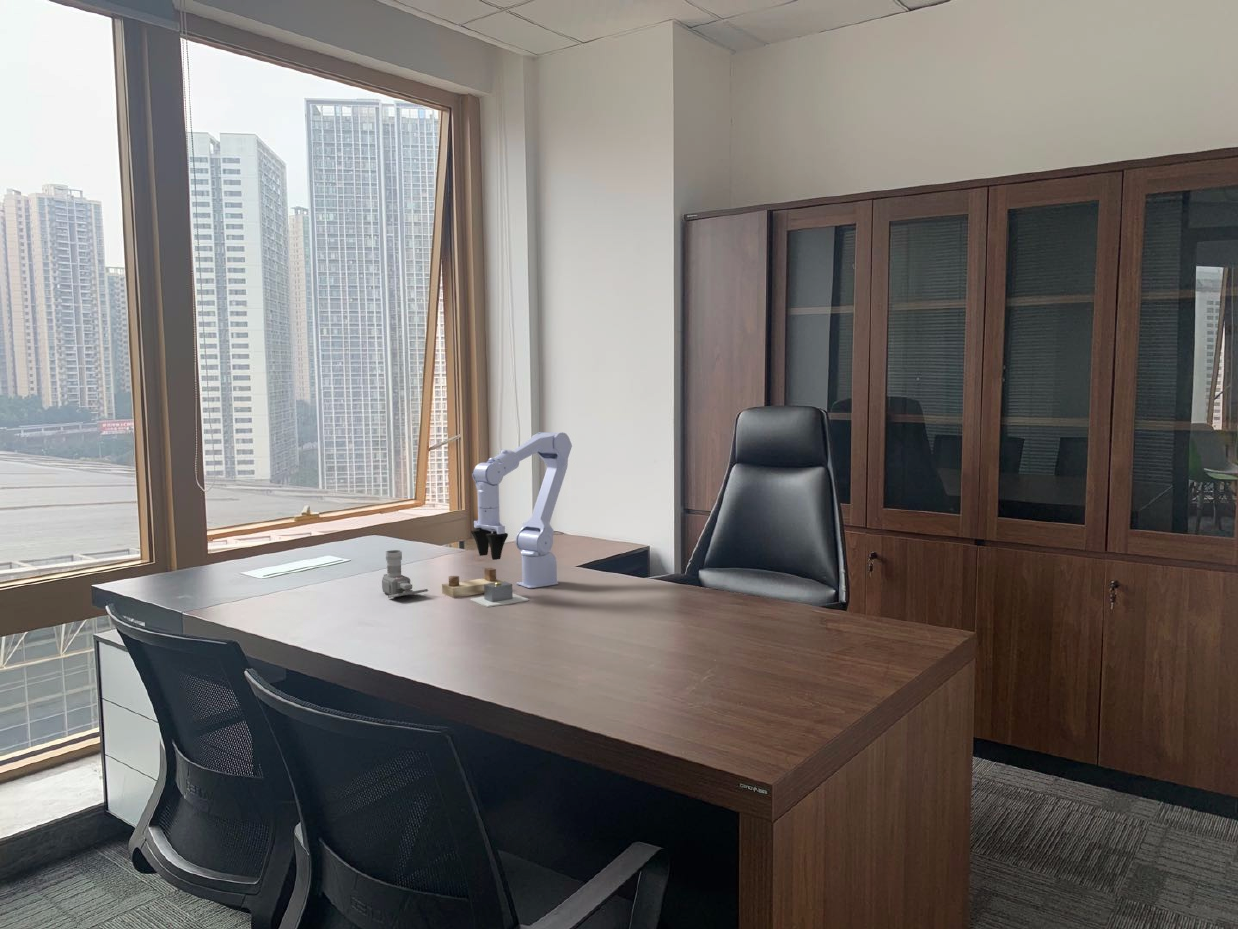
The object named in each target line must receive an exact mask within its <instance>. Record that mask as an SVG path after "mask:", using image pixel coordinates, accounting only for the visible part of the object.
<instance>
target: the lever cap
mask: <svg viewBox="0 0 1238 929" xmlns="http://www.w3.org/2000/svg"><path fill="white" fill-rule="evenodd" d="M512 593H513V584H512V583H510V582H508V581H503V582H495V583H489V584H484V593H483V594H484V596H483V597H484V599H485V600H488V601H490V602H497V601H503V600H510V599H513V594H514V593H513V594H512Z"/></svg>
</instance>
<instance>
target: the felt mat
mask: <svg viewBox="0 0 1238 929" xmlns="http://www.w3.org/2000/svg"><path fill="white" fill-rule="evenodd" d="M512 594H513V599H510V600H503V601H497V602H490V601H488V600H485V599H484V596H480V597H479V596H478V597H473V598H470V601H471V602H474V603H476V604H478V605H481V606H483V607H486V608H490V607H497V606H503V605H509V604H516V603H522V602H528V601H529V598H527V597H525V596H521V595H519V594H516V593H514V592H512Z"/></svg>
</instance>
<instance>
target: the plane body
mask: <svg viewBox="0 0 1238 929" xmlns="http://www.w3.org/2000/svg"><path fill="white" fill-rule="evenodd" d="M495 582H503V581H502V580H500V579H497V569H496V568H494V567H485V568H484V577H483V578H476V579H470V580H463V581H462V580H461V581H460V576H459V575H450V576H448V583H443V584H441V592H442V593H441V594H443V595H445V596H447V597H450V598H452V599H453V598H462V597H469V596H474V595H475V596H476V595H481V594H484V584H489V583H495Z"/></svg>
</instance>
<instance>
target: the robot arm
mask: <svg viewBox="0 0 1238 929" xmlns="http://www.w3.org/2000/svg"><path fill="white" fill-rule="evenodd" d="M572 447H573V444H572V442H571V439H570V437H569V435H568V434H567V433H565V432H544V431H539V432H537V433H536V434H533V435H532V436H531V438H529V439H527V440H526V441H525V442H524V443H522V444H521V445H519V446H518V447H516V448H515V449H514V450H510V449H502V450H500V453H498V454H497V455H495V456H494V457H489V458H488V459H487V461H486V462H480V463H478V464H477V465H475V467H474V469H473V473H471V476H472V480H473V482H475V483H474V484H475V488H476V491H477V492H476V494H477V520H473V528H474V529H472V530H470V533H471V536H472V537H473V539H474V541H475V543H476V547H477V551H478V555H479V556H488V553H489V548H490V555H491V556H490V557H491V559H492V561H495V560H496V561H497V560H501V558H502V552H503V549H504V545H505V542H506V541H507V538H508V536H509V533H508V532H506V528H505V527H506V526H504V525H503V524H502V523H501V519H500V517H501V516H500V486H499V485H500V483H502V482H503V478H504V477H505V476H507V475H508V474H509V473H511V472H513V471H514V470H516V469H518V468H519V465H520V462H521V461H523V460H526V459H527V458H528V457H531V456H533V455H535V454H538V456H539V458H540V459H541V460H542V462H544V463H545V465H546V466H547V467H546V470H545V474H544V477H543V480H542V483H541V486H540V490H539V492H538V495H537V498H536V500H535V501H536V502H535V504H534V507H533V510H532V513H531V517H529V519H528V520H526V521H525V522H523V523H522V526H521V528H520V530H519V531H518V532H517V534H516V536H515V545H516V548H517V549H518V550H519V553H520V554H521V575H522V576H521V579H522V581H517V582H516V585H519V586H521V587H525V588H527V589H533V588H535V589H536V588H541V587H547V586H548V587H549V586H553V585H559V581H558V572H557V570H558V569H557V559H556V555H555V554H554V553H553V552H552V551H551V550H552V547H553V543H554V542H553V540H554V539H553V538H554V534H555V530H554V528H553V527H552V526H551V524H550V522H551V519H552V518H553V517H552V516H553V514H554V511H555V508H556V504H557V502H558V501H557V500H558V497H559V494H560V491H561V489H562V485H563V482H564V479H565V476H566V473H567V470H568V463H569V456H570V454H571V450H572ZM550 551H551V552H550Z"/></svg>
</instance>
